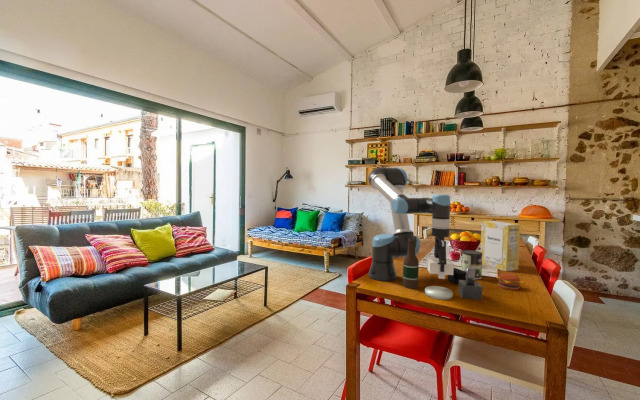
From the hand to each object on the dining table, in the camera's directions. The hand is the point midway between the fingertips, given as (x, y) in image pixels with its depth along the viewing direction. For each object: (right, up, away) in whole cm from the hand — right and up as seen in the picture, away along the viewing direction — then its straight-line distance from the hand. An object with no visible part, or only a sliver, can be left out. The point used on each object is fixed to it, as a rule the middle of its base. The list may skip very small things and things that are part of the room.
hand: (439, 275), depth 138 cm
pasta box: (+58, -8, +50) cm, 77 cm away
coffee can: (+30, -8, +29) cm, 42 cm away
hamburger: (+40, -10, +12) cm, 43 cm away
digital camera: (+16, -9, +17) cm, 25 cm away
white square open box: (0, +2, 0) cm, 2 cm away
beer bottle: (-10, -9, +12) cm, 18 cm away
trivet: (0, -9, +1) cm, 9 cm away
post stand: (+14, -10, 0) cm, 17 cm away
